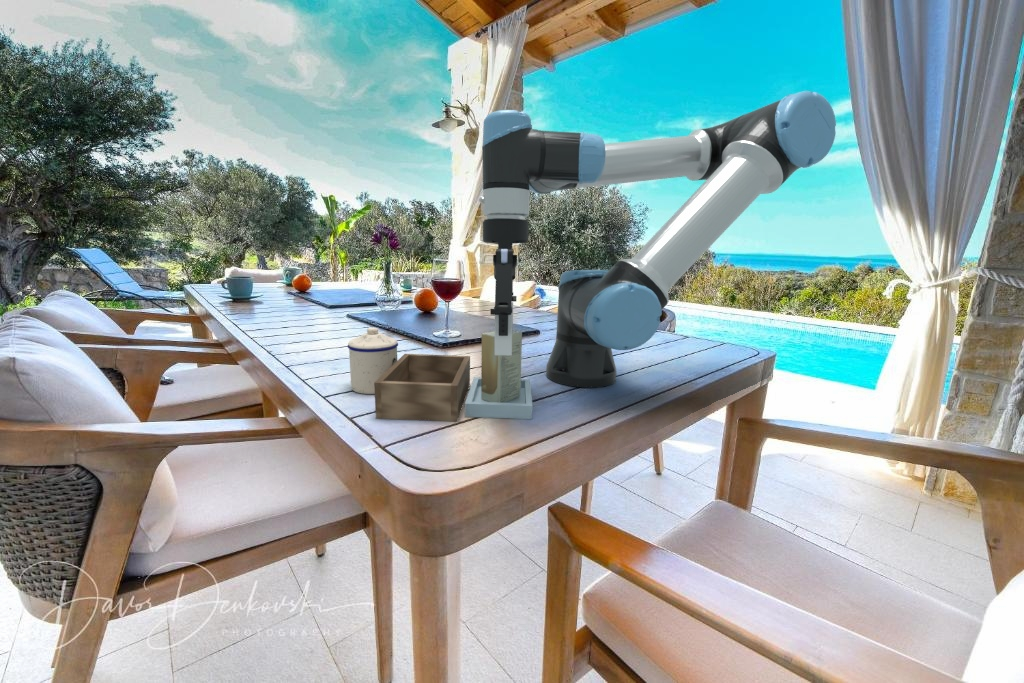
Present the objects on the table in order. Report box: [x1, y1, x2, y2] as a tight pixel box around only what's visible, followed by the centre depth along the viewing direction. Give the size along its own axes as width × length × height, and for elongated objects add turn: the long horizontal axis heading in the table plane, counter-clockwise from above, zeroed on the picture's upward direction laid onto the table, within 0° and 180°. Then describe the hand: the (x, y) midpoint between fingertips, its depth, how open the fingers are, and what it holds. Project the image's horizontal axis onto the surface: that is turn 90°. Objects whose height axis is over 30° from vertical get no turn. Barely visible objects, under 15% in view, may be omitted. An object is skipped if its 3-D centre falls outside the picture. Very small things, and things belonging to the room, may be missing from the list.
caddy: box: [374, 353, 471, 422], centre depth 74 cm, size 13×18×6 cm
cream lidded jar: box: [347, 327, 399, 395], centre depth 80 cm, size 12×9×12 cm
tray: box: [464, 376, 533, 420], centre depth 75 cm, size 11×14×2 cm
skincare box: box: [480, 329, 523, 403], centre depth 73 cm, size 6×4×12 cm
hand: (504, 344), depth 73 cm, fingers open, 13 cm apart
